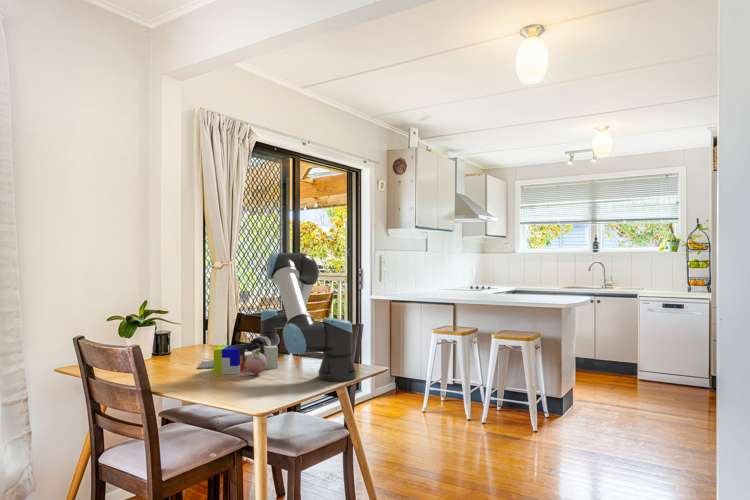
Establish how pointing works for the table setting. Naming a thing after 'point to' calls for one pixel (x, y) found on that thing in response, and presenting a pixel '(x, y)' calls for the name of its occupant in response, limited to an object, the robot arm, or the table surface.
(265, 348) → the sage block
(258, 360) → the decorative fruit
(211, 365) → the mat
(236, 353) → the puzzle toy
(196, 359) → the table surface
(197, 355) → the table surface
